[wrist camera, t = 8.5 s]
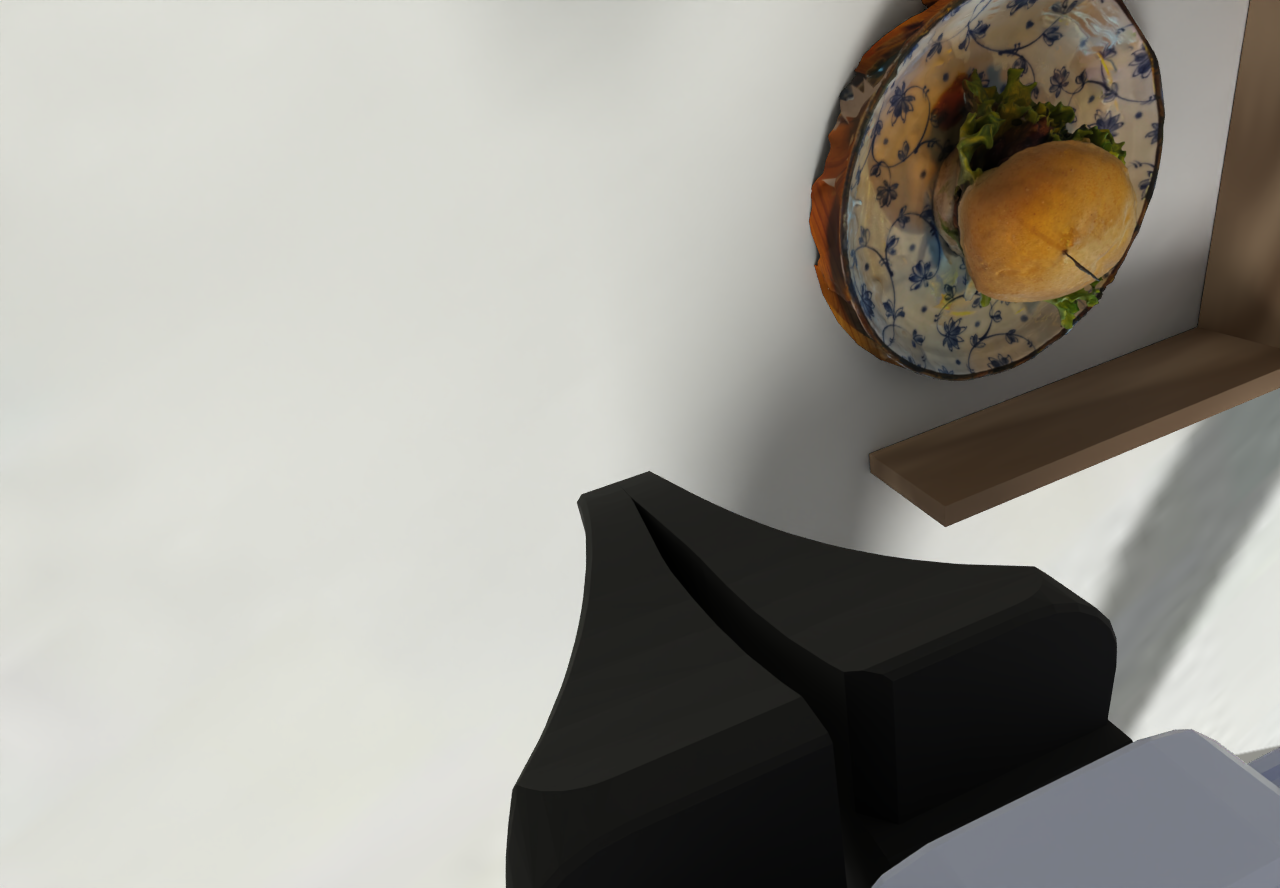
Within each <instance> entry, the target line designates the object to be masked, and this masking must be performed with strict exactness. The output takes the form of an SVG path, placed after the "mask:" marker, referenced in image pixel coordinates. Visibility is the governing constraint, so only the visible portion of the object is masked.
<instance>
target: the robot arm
mask: <svg viewBox="0 0 1280 888" xmlns="http://www.w3.org/2000/svg"><path fill="white" fill-rule="evenodd" d="M577 505H578V508H579V512H580V515H581V519H582V522H583V526H584V529H585V533H586V574H585V585H584V595H583V603H582V610H581V615H580V621H579V626H578V630H577V635H576V639H575V643H574V647H573V650H572V654H571V658H570V661H569V665H568V668H567V671H566V675H565V678H564V681H563V683H562V686H561V689H560V691H559V694H558V696H557V699H556V701H555V704H554V706H553V709H552V711H551V714H550V716H549V718H548V721H547V723H546V726H545V728H544V730H543V733H542V735H541V737H540V739H539V741H538V743H537V745H536V747H535V749H534V750H533V752H532V754H531V756H530V758H529V760H528V762H527V764H526V765H525V767H524V769H523V771H522V773H521V775H520V777H519V779H518V780H517V782H516V784H515V786H514V788H513V790H512V798H511V806H510V815H509V824H508V835H507V848H506V888H1280V747H1279V748H1277V749H1275V750H1273V751H1271V752H1269V753H1267V754H1265V755H1263V756H1261V757H1259V758H1257V759H1255V760H1254V761H1252V762H1250V763H1248V764H1246V763H1245V762H1244V761H1242V760H1241V759H1240V758H1238V757H1237V756H1236V755H1234V754H1233V753H1232V752H1230V751H1229V750H1228V749H1226V748H1225V747H1224V746H1222V745H1221V744H1220V743H1218V742H1217V741H1216V740H1214V739H1211V738H1209V737H1207V736H1205V735H1203V734H1201V733H1199V732H1197V731H1194V730H1192V729H1182V730H1172V731H1169V732H1165V733H1161V734H1158V735H1154V736H1151V737H1147V738H1144V739H1140V740H1137V741H1135V742H1133V741H1132V739H1130V738H1129V737H1128V736H1127V735H1126V734H1124V733H1123V732H1122V731H1121V730H1120V729H1118V728H1117V727H1116V726H1115V725H1114V724H1112V723H1111V722H1110V721H1109V720H1108V713H1109V707H1110V701H1111V695H1112V689H1113V683H1114V677H1115V671H1116V659H1117V641H1116V636H1115V633H1114V631H1113V628H1112V625H1111V622H1110V620H1109V619H1107V618H1106V617H1105V616H1104V615H1103V614H1102V613H1101V612H1100V611H1099V610H1098V609H1097V608H1095V607H1094V606H1092V605H1091V604H1090V603H1088V602H1087V601H1085V600H1084V599H1082V598H1081V597H1079V596H1078V595H1076V594H1075V593H1074V592H1072V591H1071V590H1069V589H1068V588H1066V587H1065V586H1063V585H1062V584H1061V583H1059V582H1058V581H1056V580H1055V579H1053V578H1052V577H1050V576H1049V575H1047V574H1046V573H1044V572H1043V571H1041V570H1039V569H1038V568H1036V567H1034V566H1001V565H968V564H951V563H941V562H931V561H921V560H912V559H904V558H897V557H890V556H883V555H878V554H873V553H867V552H862V551H857V550H851V549H846V548H842V547H837V546H833V545H829V544H825V543H821V542H817V541H814V540H810V539H807V538H803V537H800V536H796V535H793V534H789V533H786V532H783V531H780V530H777V529H774V528H771V527H769V526H766V525H764V524H761V523H758V522H756V521H753V520H750V519H748V518H745V517H743V516H740V515H738V514H736V513H733V512H731V511H728V510H726V509H724V508H722V507H720V506H717V505H715V504H713V503H711V502H709V501H707V500H705V499H703V498H701V497H698V496H696V495H694V494H692V493H690V492H689V491H687V490H685V489H683V488H681V487H679V486H677V485H675V484H673V483H671V482H669V481H667V480H665V479H664V478H662V477H660V476H658V475H656V474H654V473H652V472H650V471H648V472H645V473H642V474H640V475H637V476H634V477H631V478H628V479H625V480H622V481H619V482H616V483H613V484H610V485H608V486H605V487H602V488H599V489H596V490H593V491H590V492H587V493H584V494H582V495H581V496H580V498H579V500H578V501H577Z"/></svg>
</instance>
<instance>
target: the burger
mask: <svg viewBox="0 0 1280 888" xmlns="http://www.w3.org/2000/svg"><path fill="white" fill-rule="evenodd" d="M922 2H923V4H924V5H927V7H928V9H927V10H925V11H924V12H922V13H920V14H917V15H915V16H913V17H911V18H910V19H908V20H906V21H905V22H903V23H902V24H900V25H899V26H897V27H896V28H894V29H893V30H892V31H890V32H889V33H887V34H886V35H885V36H884V37H882V38H881V39H880V40H879V41H878V42H876V43H875V44H874V45H873V46H872V47H871V48H870V50H869V51H867V52H866V53H865V54H864V55H863V56H862V59H861V61H860V62H859V65H858V67H857V68H856V69H855V72H856V76H855V77H854V78H853V80H852V81H851V82H850V83H849V85H848V86H847V87H846V88H845V89H844V90H843V91H842V92H841V93H840V96H839V97H840V108H841V113H840V114H839V116H838V119H837V123H836V125H835V127H834V128H833V130H832V131H831V132H830V134H829V135H828V139H829V142H830V145H831V148H830V152H829V154H828V156H827V159H826V162H825V168H824V172H823V174H822V175H821V176H820V177H819V178H818V179H817V180H816V181H815V183H814V184H813V185H812V188H811V189H812V192H811V199H812V210H811V214H810V219H809V223H810V228H811V233H812V236H813V239H814V242H815V244H816V247H817V249H818V251H819V254H820V258H819V260H818V265H814V266H815V270H816V273H817V277H818V280H819V283H820V287H821V290H822V293H823V296H824V297H825V299H826V301H827V303H828V305H829V307H830V309H831V310H832V312H833V314H834V316H835V318H836V320H837V321H838V323H839V324H840V325H841V326H842V327H843V329H844V330H845V331H846V332H847V333H848V334H849V335H850V336H851V337H852V339H853V340H854V341H855V342H856V343H857V344H858V345H859V346H861V347H862V348H864V349H865V350H867V351H868V352H870V353H871V354H873V355H874V356H876V357H877V358H879V359H880V360H883V361H885V362H888V363H891V364H894V365H897V366H900V367H903V368H906V369H909V370H911V371H914V372H915V373H917V374H921V375H924V376H928V377H932V378H935V379H941V380H949V381H965V380H972V379H976V378H980V377H984V376H988V375H992V374H997V373H1001V372H1004V371H1007V370H1009V369H1012V368H1014V367H1016V366H1018V365H1020V364H1022V363H1025V362H1026V361H1029V360H1030V359H1033V358H1034V357H1035V356H1036V355H1037V354H1038V353H1040V352H1042V351H1043V350H1044V349H1046V348H1047V347H1048V346H1049V345H1051V344H1052V343H1053V342H1055V341H1056V340H1058V339H1060V338H1061V337H1062V336H1063V335H1066V334H1068V332H1070V331H1071V329H1072V328H1073V327H1074V325H1075V324H1076V323H1077V322H1078V321H1079V320H1080V319H1081V318H1082V317H1084V316H1085V315H1086V314H1087V312H1088V311H1089V310H1090V309H1091V308H1092V307H1093V306H1094V305H1096V304H1098V303H1099V302H1098V300H1099V299H1101V297H1102V295H1103V294H1102V292H1103V291H1104V290H1105V289H1106V286H1107V285H1108V284H1110V283H1112V282H1113V280H1114V278H1115V275H1116V274H1117V271H1118V269H1119V268H1120V266H1121V265H1122V263H1123V261H1124V260H1125V257H1126V255H1127V253H1128V251H1129V249H1130V247H1131V245H1132V243H1133V241H1134V239H1135V237H1136V236H1137V234H1138V232H1139V230H1140V227H1141V224H1142V221H1143V218H1144V215H1145V213H1146V210H1147V207H1148V205H1149V202H1150V200H1151V198H1152V195H1153V191H1154V188H1155V184H1156V180H1157V175H1158V170H1159V165H1160V159H1161V153H1162V144H1163V125H1164V119H1165V110H1164V100H1163V91H1162V83H1161V75H1160V69H1159V64H1158V60H1157V58H1156V55H1155V53H1154V51H1153V50H1152V48H1151V46H1150V45H1149V43H1148V41H1147V40H1146V38H1145V37H1144V35H1143V33H1142V32H1141V30H1140V29H1139V27H1138V26H1137V24H1136V23H1135V21H1134V19H1133V18H1132V16H1131V14H1130V13H1129V11H1128V9H1127V8H1126V6H1125V4H1124V3H1123V1H1122V0H922ZM828 288H829V289H828Z"/></svg>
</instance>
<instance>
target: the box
mask: <svg viewBox="0 0 1280 888" xmlns="http://www.w3.org/2000/svg"><path fill="white" fill-rule="evenodd" d="M1278 388H1280V0H1250V5H1249V11H1248V18H1247V24H1246V30H1245V36H1244V42H1243V49H1242V55H1241V61H1240V67H1239V73H1238V80H1237V86H1236V92H1235V98H1234V104H1233V110H1232V117H1231V123H1230V129H1229V135H1228V141H1227V148H1226V154H1225V160H1224V166H1223V172H1222V179H1221V185H1220V191H1219V197H1218V203H1217V210H1216V216H1215V222H1214V228H1213V234H1212V241H1211V247H1210V253H1209V259H1208V265H1207V272H1206V278H1205V284H1204V290H1203V296H1202V303H1201V309H1200V315H1199V321H1198V327H1196V328H1194V329H1191V330H1188V331H1186V332H1183V333H1181V334H1178V335H1176V336H1173V337H1170V338H1168V339H1165V340H1163V341H1160V342H1157V343H1155V344H1152V345H1150V346H1147V347H1144V348H1142V349H1139V350H1137V351H1134V352H1132V353H1129V354H1126V355H1124V356H1121V357H1119V358H1116V359H1113V360H1111V361H1108V362H1106V363H1103V364H1100V365H1098V366H1095V367H1093V368H1090V369H1088V370H1085V371H1082V372H1080V373H1077V374H1075V375H1072V376H1069V377H1067V378H1064V379H1062V380H1059V381H1056V382H1054V383H1051V384H1049V385H1046V386H1044V387H1041V388H1038V389H1036V390H1033V391H1031V392H1028V393H1025V394H1023V395H1020V396H1018V397H1015V398H1012V399H1010V400H1007V401H1005V402H1002V403H1000V404H997V405H994V406H992V407H989V408H987V409H984V410H981V411H979V412H976V413H974V414H971V415H969V416H966V417H963V418H961V419H958V420H956V421H953V422H950V423H948V424H945V425H943V426H940V427H937V428H935V429H932V430H930V431H927V432H925V433H922V434H919V435H917V436H914V437H912V438H909V439H906V440H904V441H901V442H899V443H896V444H893V445H891V446H888V447H886V448H883V449H881V450H878V451H875V452H873V453H870V454H869V457H870V470H871V473H872V474H873V475H875V476H876V477H877V478H879V479H880V480H882V481H883V482H884V483H886V484H887V485H888V486H890V487H891V488H892V489H894V490H895V491H897V492H898V493H899V494H901V495H902V496H903V497H905V498H906V499H908V500H909V501H910V502H912V503H913V504H914V505H916V506H917V507H918V508H920V509H921V510H923V511H924V512H925V513H927V514H928V515H929V516H931V517H932V518H933V519H935V520H936V521H938V522H939V523H940V524H942V525H943V526H944V527H947V526H949V525H952V524H954V523H957V522H959V521H961V520H964V519H966V518H969V517H971V516H973V515H976V514H978V513H981V512H983V511H985V510H988V509H990V508H993V507H995V506H997V505H1000V504H1002V503H1005V502H1007V501H1009V500H1012V499H1014V498H1017V497H1019V496H1021V495H1024V494H1026V493H1029V492H1031V491H1033V490H1036V489H1038V488H1041V487H1043V486H1045V485H1048V484H1050V483H1053V482H1055V481H1057V480H1060V479H1062V478H1064V477H1067V476H1069V475H1072V474H1074V473H1076V472H1079V471H1081V470H1084V469H1086V468H1088V467H1091V466H1093V465H1096V464H1098V463H1100V462H1103V461H1105V460H1108V459H1110V458H1112V457H1115V456H1117V455H1120V454H1122V453H1124V452H1127V451H1129V450H1132V449H1134V448H1136V447H1139V446H1141V445H1144V444H1146V443H1148V442H1151V441H1153V440H1156V439H1158V438H1160V437H1163V436H1165V435H1168V434H1170V433H1172V432H1175V431H1177V430H1180V429H1182V428H1184V427H1187V426H1189V425H1192V424H1194V423H1196V422H1199V421H1201V420H1204V419H1206V418H1208V417H1211V416H1213V415H1216V414H1218V413H1220V412H1223V411H1225V410H1228V409H1230V408H1232V407H1235V406H1237V405H1240V404H1242V403H1244V402H1247V401H1249V400H1252V399H1254V398H1256V397H1259V396H1261V395H1264V394H1266V393H1268V392H1271V391H1273V390H1276V389H1278Z"/></svg>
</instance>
